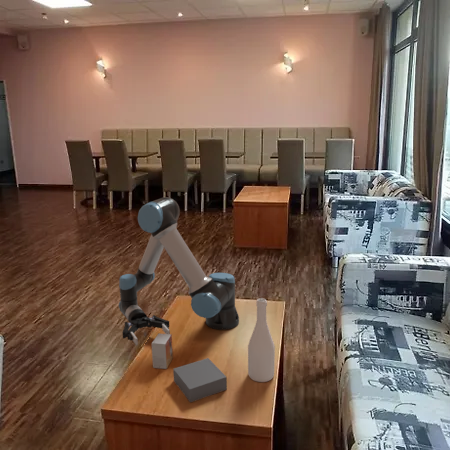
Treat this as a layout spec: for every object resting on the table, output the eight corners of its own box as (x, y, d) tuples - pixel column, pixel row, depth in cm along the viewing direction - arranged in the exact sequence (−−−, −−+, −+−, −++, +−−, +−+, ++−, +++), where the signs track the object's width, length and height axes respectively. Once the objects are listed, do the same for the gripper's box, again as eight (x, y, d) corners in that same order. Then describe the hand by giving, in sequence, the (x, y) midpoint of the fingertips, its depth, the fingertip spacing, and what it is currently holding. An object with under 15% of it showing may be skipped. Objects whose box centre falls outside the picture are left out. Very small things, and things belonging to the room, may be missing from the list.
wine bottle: (244, 380, 162) (244, 303, 154) (252, 366, 171) (252, 292, 163) (270, 385, 159) (271, 307, 151) (276, 370, 167) (278, 296, 160)
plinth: (208, 369, 169) (208, 357, 167) (226, 389, 157) (226, 376, 155) (173, 381, 162) (173, 368, 161) (190, 402, 150) (189, 389, 149)
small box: (166, 369, 169) (165, 344, 167) (152, 368, 170) (151, 343, 168) (173, 358, 177) (172, 334, 174) (159, 356, 178) (158, 332, 175)
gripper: (163, 317, 205) (182, 338, 187) (108, 331, 193) (123, 354, 175) (162, 302, 203) (181, 321, 185) (107, 315, 191) (122, 336, 173)
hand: (153, 337), depth 180 cm, fingers open, 13 cm apart
